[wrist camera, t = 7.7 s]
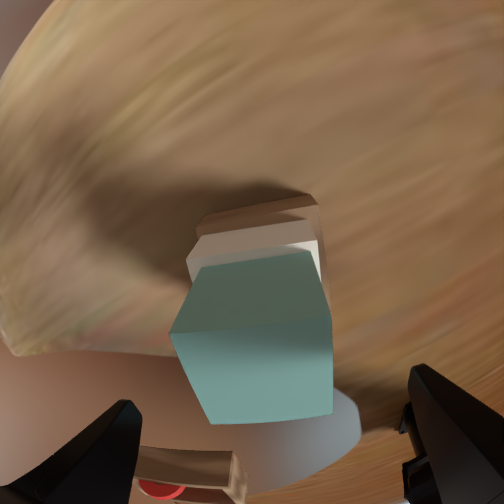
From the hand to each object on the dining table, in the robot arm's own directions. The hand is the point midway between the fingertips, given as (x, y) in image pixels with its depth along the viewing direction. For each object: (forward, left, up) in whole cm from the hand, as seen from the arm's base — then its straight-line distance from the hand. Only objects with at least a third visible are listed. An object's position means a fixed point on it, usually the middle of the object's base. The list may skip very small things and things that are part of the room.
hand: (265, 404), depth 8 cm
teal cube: (-1, 0, -6) cm, 6 cm away
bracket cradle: (-30, +17, -13) cm, 37 cm away
